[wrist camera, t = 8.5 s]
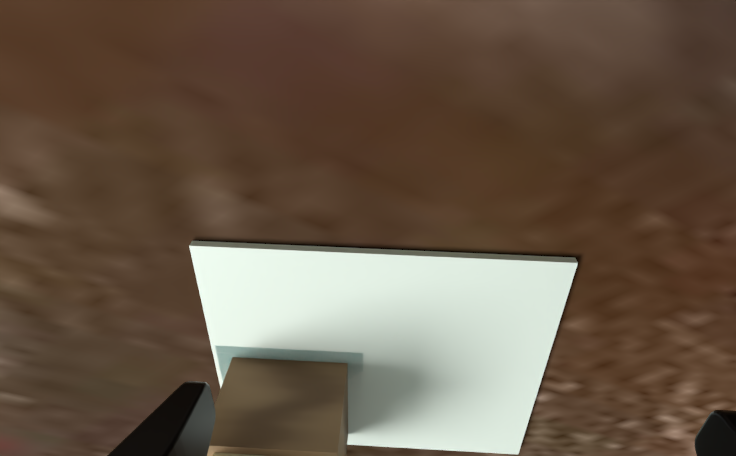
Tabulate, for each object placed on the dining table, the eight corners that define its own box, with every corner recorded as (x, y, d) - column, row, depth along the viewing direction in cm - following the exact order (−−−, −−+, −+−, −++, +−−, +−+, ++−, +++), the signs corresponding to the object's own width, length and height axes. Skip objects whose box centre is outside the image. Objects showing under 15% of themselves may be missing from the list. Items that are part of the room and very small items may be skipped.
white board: (575, 257, 21) (577, 263, 21) (516, 448, 29) (518, 454, 29) (192, 240, 22) (189, 245, 22) (233, 431, 30) (231, 437, 29)
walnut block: (347, 363, 25) (337, 452, 21) (348, 434, 28) (339, 524, 24) (232, 357, 25) (199, 445, 21) (246, 428, 29) (219, 517, 24)
